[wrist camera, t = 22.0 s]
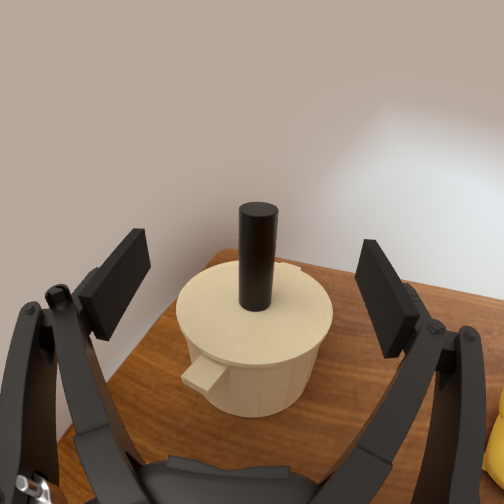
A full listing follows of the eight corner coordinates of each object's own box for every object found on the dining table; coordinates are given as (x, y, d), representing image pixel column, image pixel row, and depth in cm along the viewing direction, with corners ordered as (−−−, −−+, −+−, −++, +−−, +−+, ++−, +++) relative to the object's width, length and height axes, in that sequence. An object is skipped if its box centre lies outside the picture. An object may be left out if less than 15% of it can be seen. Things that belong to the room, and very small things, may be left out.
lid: (146, 327, 22) (121, 223, 17) (229, 256, 33) (229, 174, 28) (296, 400, 17) (326, 289, 12) (345, 292, 27) (365, 201, 22)
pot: (156, 398, 25) (130, 340, 20) (242, 304, 39) (243, 244, 34) (265, 459, 20) (276, 418, 15) (329, 335, 34) (346, 274, 29)
